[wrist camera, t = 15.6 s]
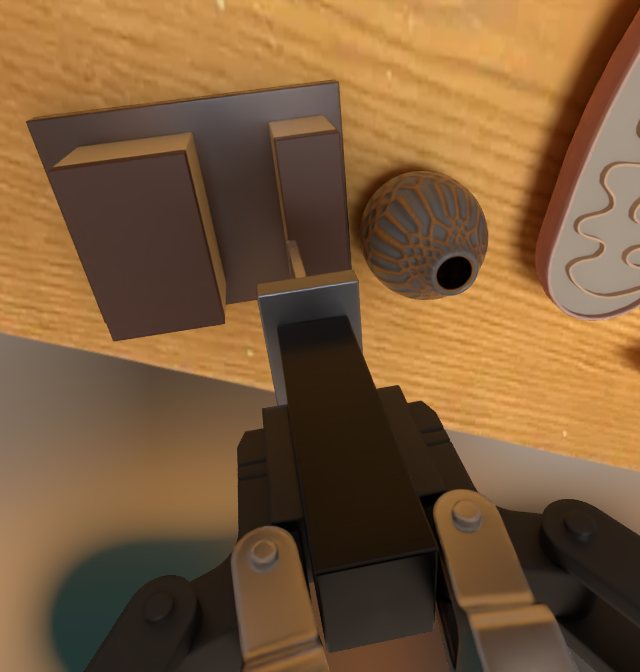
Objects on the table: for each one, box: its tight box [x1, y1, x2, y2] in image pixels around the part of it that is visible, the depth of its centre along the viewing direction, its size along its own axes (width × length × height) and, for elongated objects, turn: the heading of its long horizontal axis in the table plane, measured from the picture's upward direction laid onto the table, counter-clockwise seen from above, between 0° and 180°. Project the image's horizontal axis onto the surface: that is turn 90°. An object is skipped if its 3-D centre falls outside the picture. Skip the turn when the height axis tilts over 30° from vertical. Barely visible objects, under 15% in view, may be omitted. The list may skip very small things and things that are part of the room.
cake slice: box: [268, 115, 350, 277], centre depth 27 cm, size 3×9×5 cm, turn 6°
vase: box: [360, 171, 488, 300], centre depth 28 cm, size 7×7×9 cm
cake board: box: [26, 80, 352, 323], centre depth 29 cm, size 16×12×1 cm
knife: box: [256, 240, 439, 653], centre depth 15 cm, size 3×5×14 cm, turn 6°
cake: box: [47, 132, 226, 341], centre depth 26 cm, size 6×9×5 cm, turn 6°
